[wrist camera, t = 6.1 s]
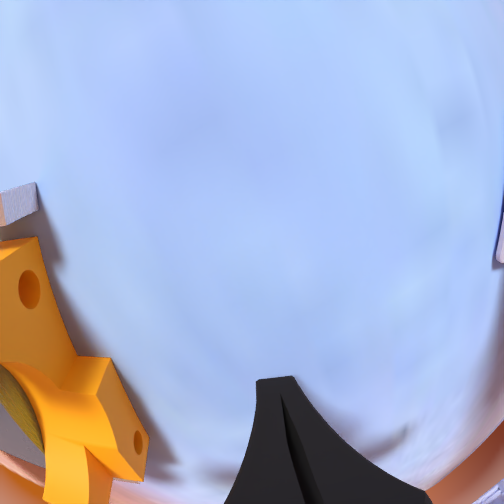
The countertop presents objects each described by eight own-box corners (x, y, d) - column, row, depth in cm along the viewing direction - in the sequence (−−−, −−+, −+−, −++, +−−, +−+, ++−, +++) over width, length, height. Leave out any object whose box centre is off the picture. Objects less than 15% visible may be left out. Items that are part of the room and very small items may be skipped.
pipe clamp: (149, 435, 13) (138, 532, 7) (86, 428, 13) (62, 512, 7) (75, 230, 9) (-50, 335, 3) (-1, 240, 8) (-103, 318, 2)
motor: (34, 181, 8) (-53, 214, 3) (143, 459, 14) (136, 514, 10) (-74, 218, 7) (-124, 247, 3) (30, 435, 13) (14, 476, 9)
